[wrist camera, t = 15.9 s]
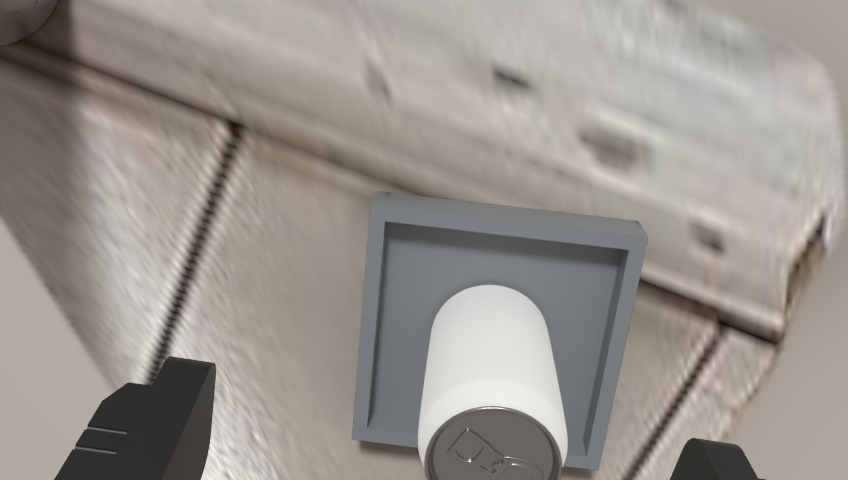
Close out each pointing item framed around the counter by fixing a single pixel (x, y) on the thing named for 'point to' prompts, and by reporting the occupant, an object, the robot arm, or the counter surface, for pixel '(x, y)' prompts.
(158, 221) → the counter surface
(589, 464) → the bin
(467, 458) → the can
